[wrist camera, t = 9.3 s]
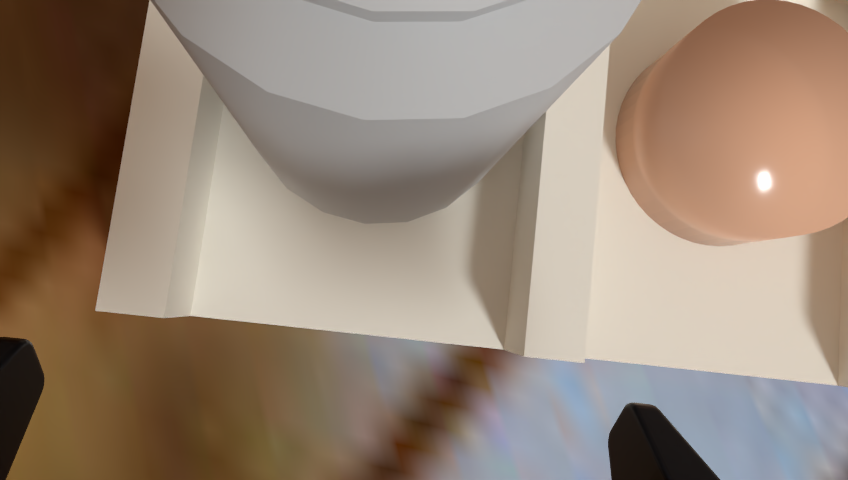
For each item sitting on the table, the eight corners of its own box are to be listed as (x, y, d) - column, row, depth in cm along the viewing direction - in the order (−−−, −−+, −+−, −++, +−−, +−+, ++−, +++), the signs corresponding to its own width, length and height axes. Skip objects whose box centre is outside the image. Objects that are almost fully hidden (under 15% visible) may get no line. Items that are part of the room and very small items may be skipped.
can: (194, 106, 17) (-196, -342, 5) (371, -65, 18) (385, -764, 6) (387, 281, 17) (439, 236, 5) (552, 100, 18) (909, -282, 6)
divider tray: (871, 388, 19) (956, 402, 16) (138, 309, 17) (95, 310, 14) (882, -25, 20) (960, -74, 18) (212, -142, 18) (186, -218, 16)
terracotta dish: (772, 278, 18) (852, 274, 15) (585, 196, 18) (629, 176, 15) (832, 96, 19) (918, 58, 16) (655, 14, 19) (710, -39, 16)
